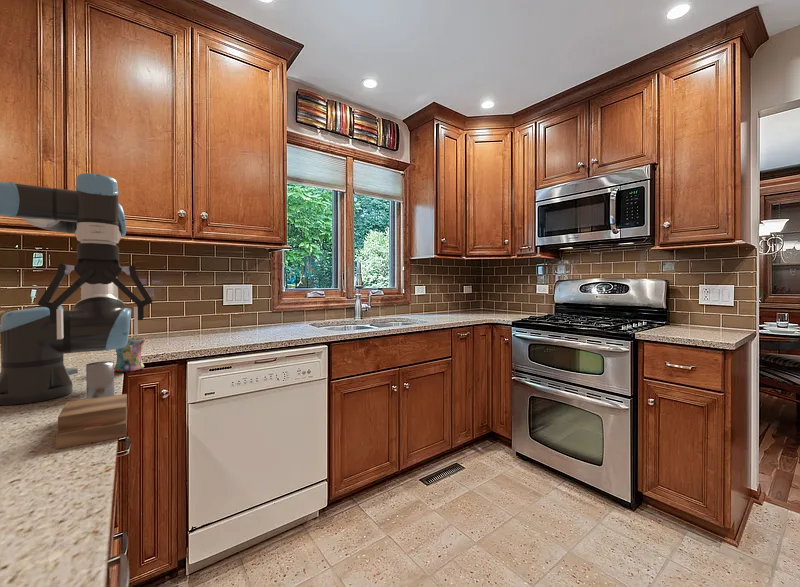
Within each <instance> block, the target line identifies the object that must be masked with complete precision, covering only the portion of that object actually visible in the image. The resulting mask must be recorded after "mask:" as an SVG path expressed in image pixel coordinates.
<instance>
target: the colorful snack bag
mask: <svg viewBox="0 0 800 587" xmlns="http://www.w3.org/2000/svg"><path fill="white" fill-rule="evenodd" d="M145 341H146V338H145V337H128V343H127V345H126V346H125V347H123V348H120V349H115V352H116V353H115V354H116V363H115V364H114V372H120V373H127V372H128V373H129V372H135V371H136V372H137V371H139V370H141V369H144V367H145V365H144V363H143V360H142V349H143V345H144V343H145Z"/></svg>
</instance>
